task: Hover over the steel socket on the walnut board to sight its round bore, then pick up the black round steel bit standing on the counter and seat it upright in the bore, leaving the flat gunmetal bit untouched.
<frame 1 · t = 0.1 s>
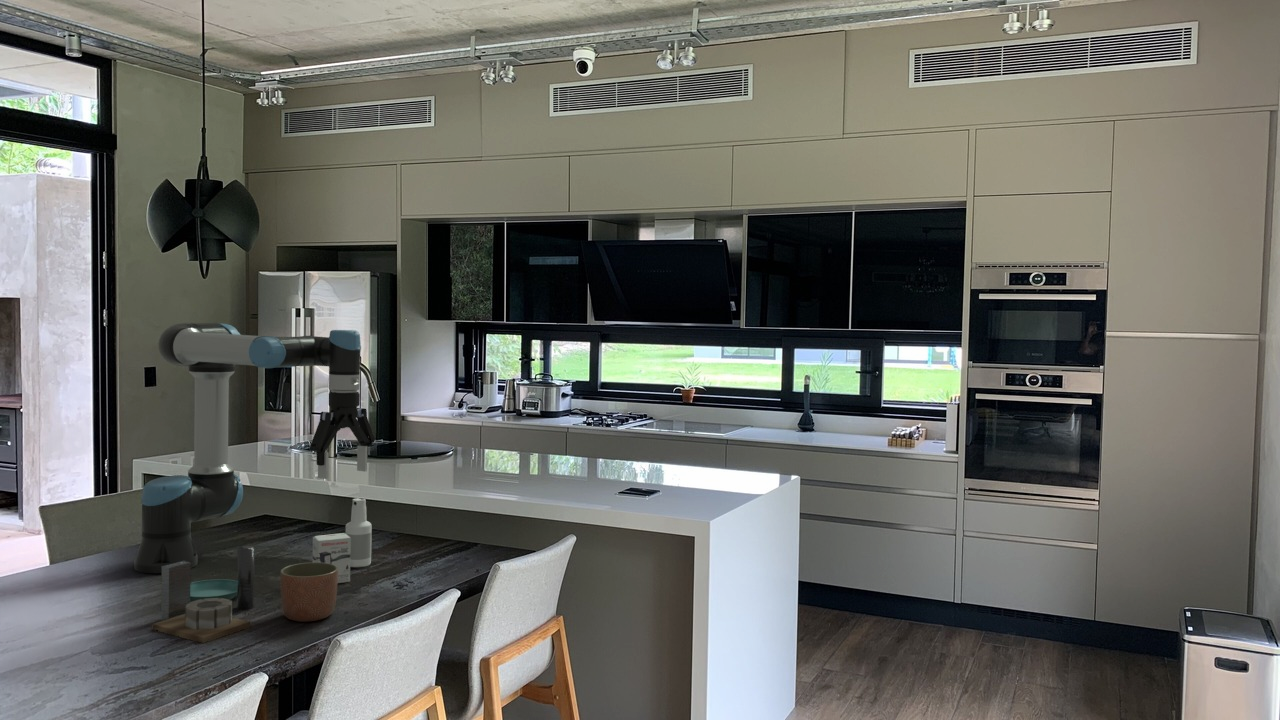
hand: (342, 474, 243), 28 cm above the table, fingers open, 13 cm apart
ink box: (331, 582, 246), on the table
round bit: (245, 607, 223), on the table
socket board: (201, 628, 208), on the table
spray bottle: (358, 565, 263), on the table
saucer: (210, 599, 230), on the table
flat bit: (175, 617, 215), on the table
planter: (308, 617, 218), on the table
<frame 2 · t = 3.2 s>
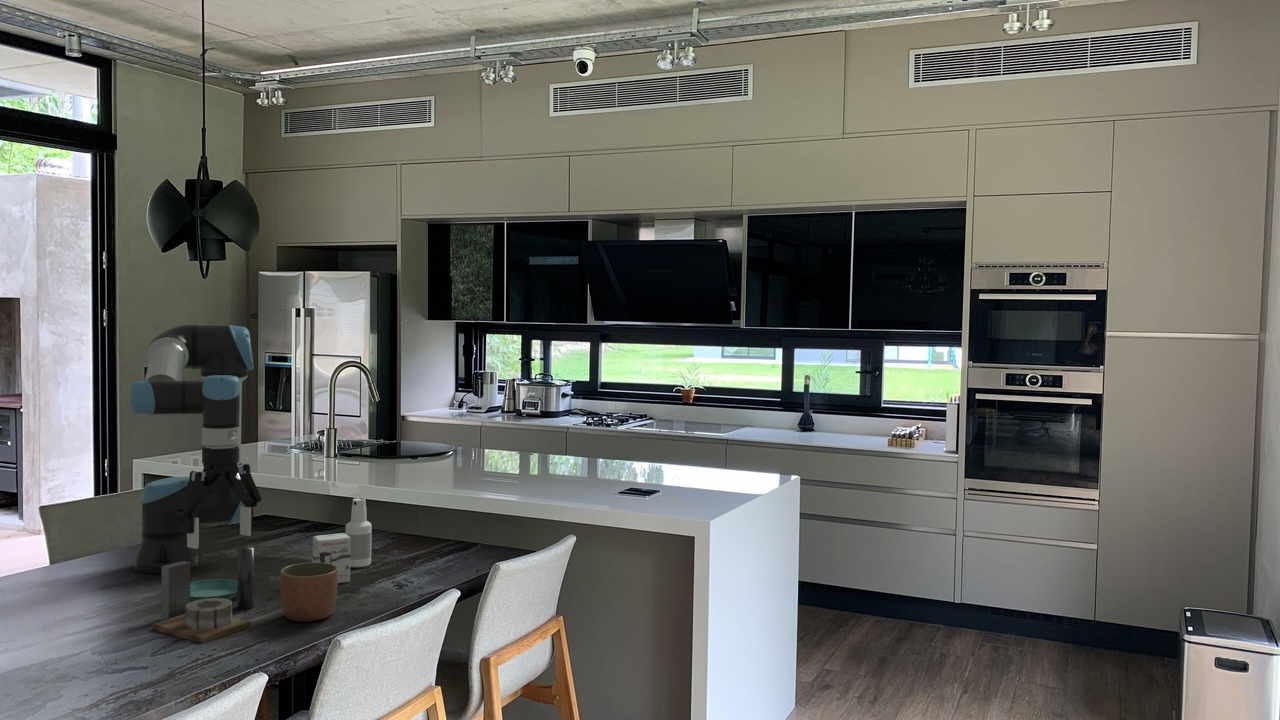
hand: (219, 541, 212), 18 cm above the table, fingers open, 13 cm apart
nothing on the table moved.
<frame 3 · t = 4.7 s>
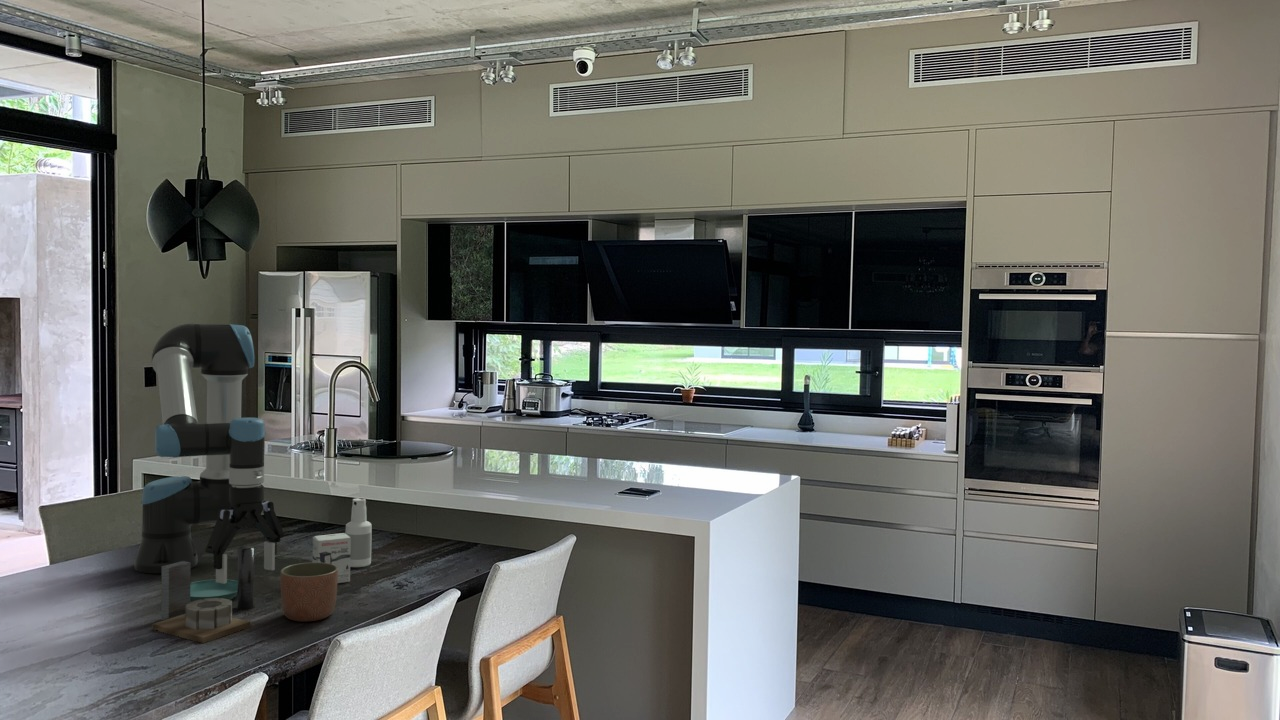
hand: (245, 575, 223), 7 cm above the table, fingers open, 13 cm apart
nothing on the table moved.
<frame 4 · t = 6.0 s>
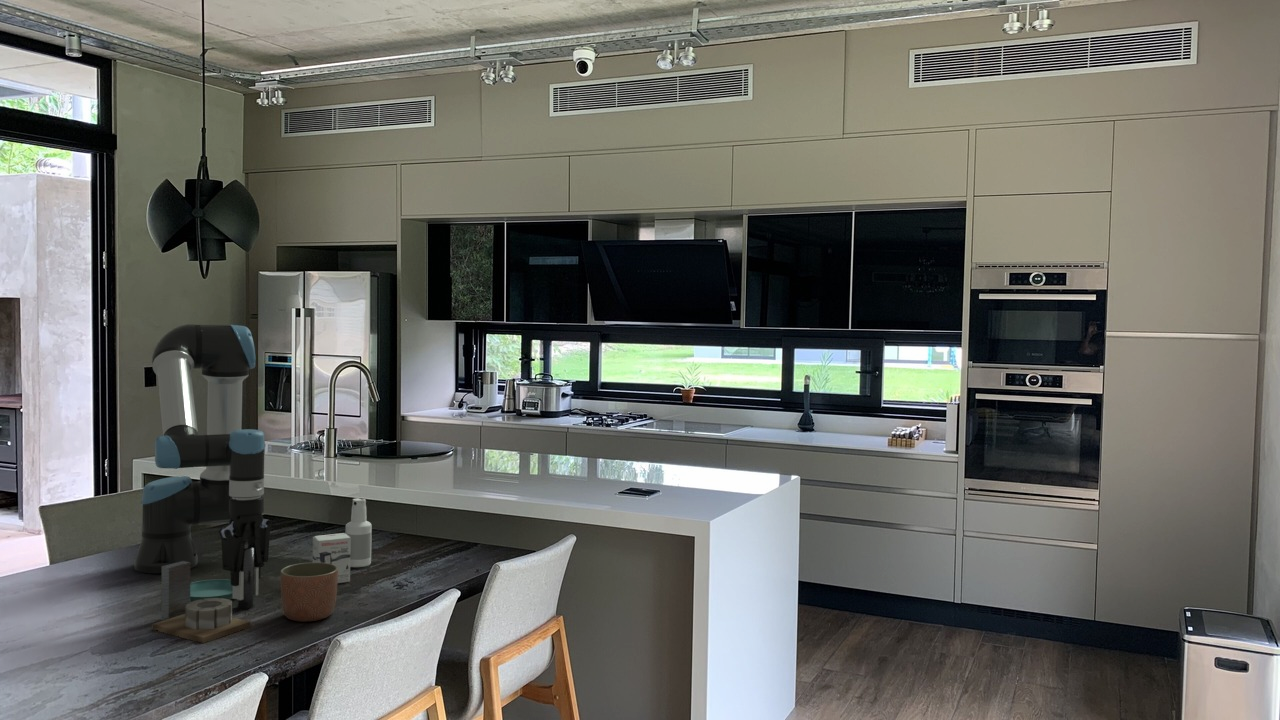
hand: (245, 596, 223), 3 cm above the table, fingers closed on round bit, 3 cm apart
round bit: (245, 607, 223), on the table, touching gripper
everything else where it was.
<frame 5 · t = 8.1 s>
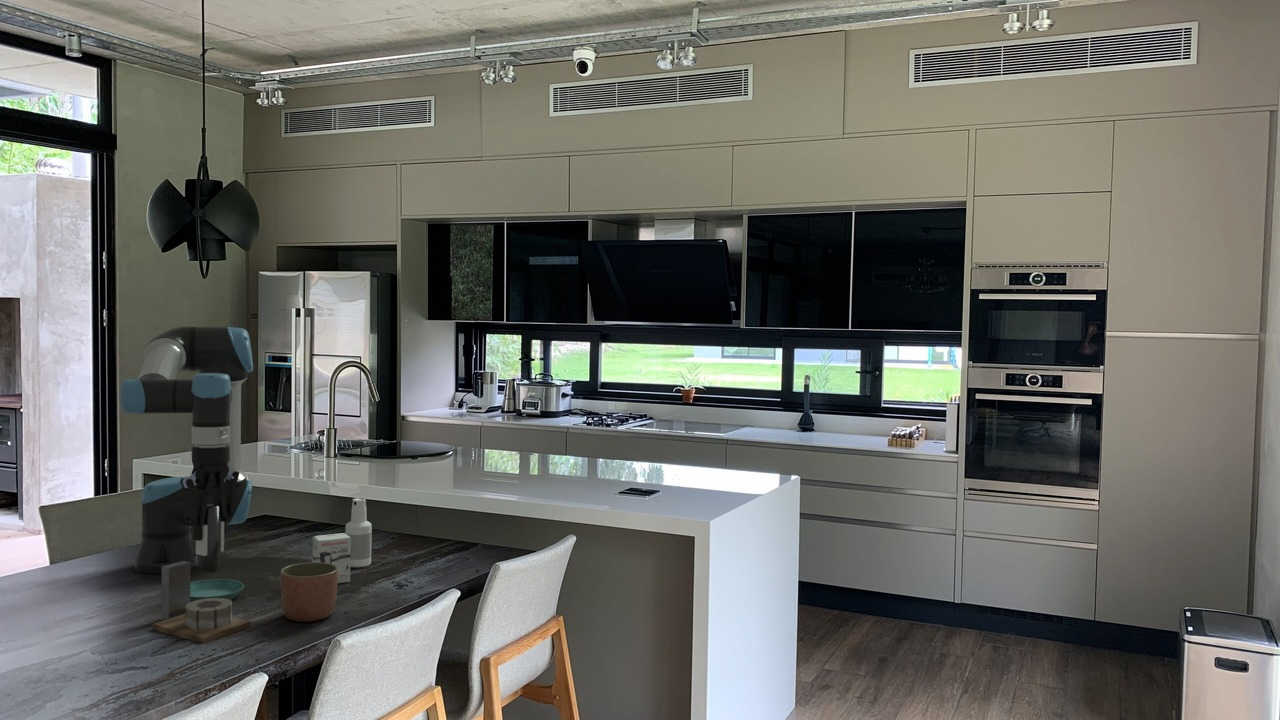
hand: (209, 552, 208), 17 cm above the table, fingers closed on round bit, 3 cm apart
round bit: (209, 569, 208), point 13 cm above the table, touching gripper
everything else where it was.
when the fingers open (6 cm above the table, at t = 10.6 s): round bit drops 1 cm, resting on socket board.
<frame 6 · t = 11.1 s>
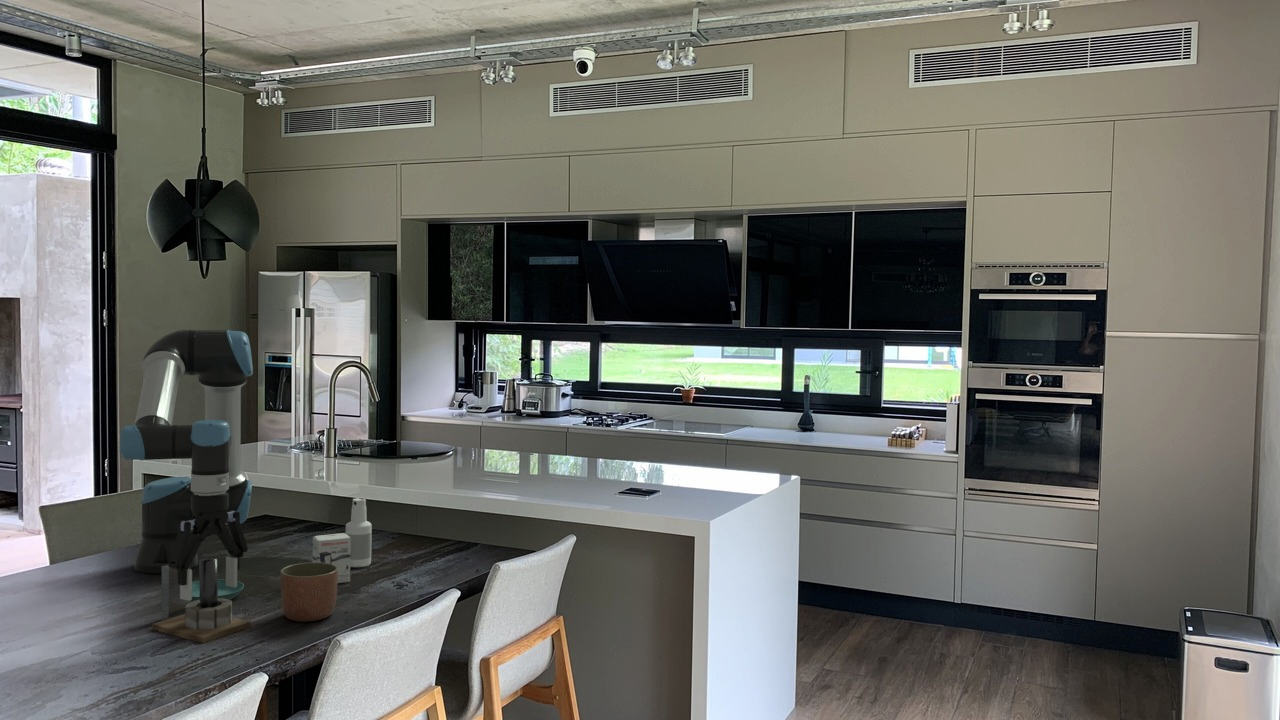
hand: (209, 592, 208), 8 cm above the table, fingers open, 11 cm apart
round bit: (208, 622, 209), point 1 cm above the table, touching socket board
everything else where it was.
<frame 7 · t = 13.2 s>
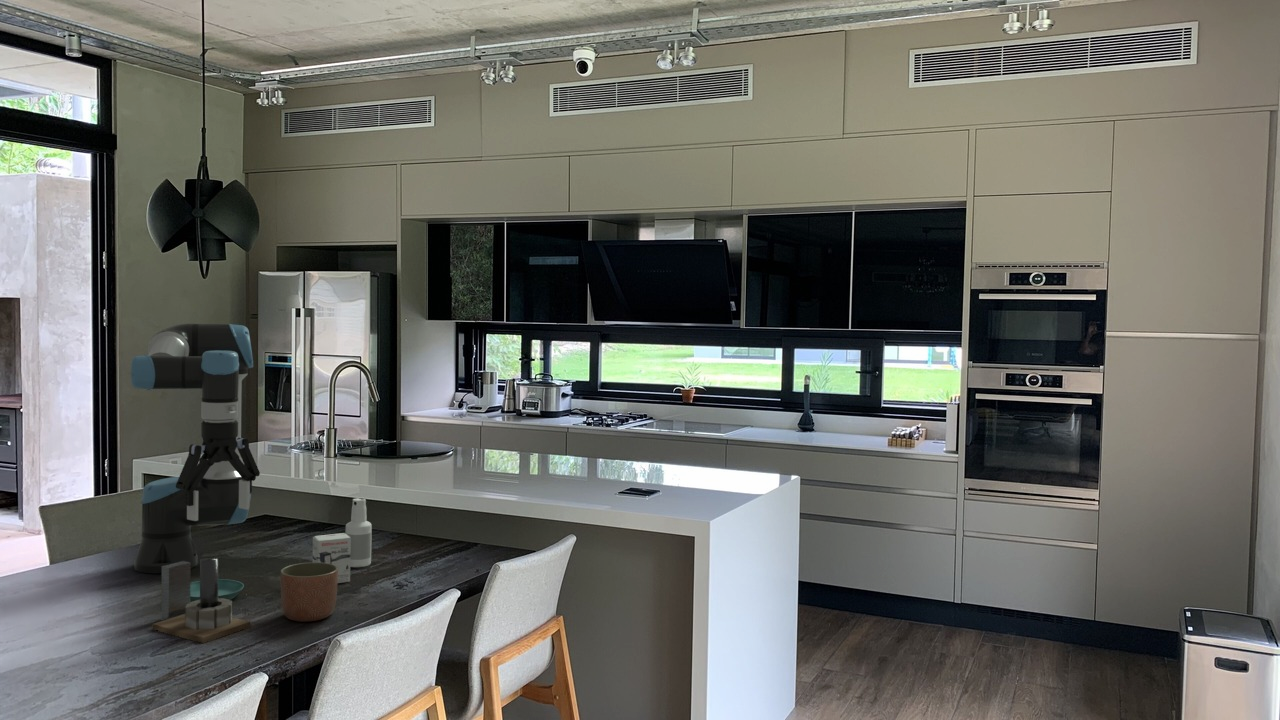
hand: (219, 514, 215), 23 cm above the table, fingers open, 13 cm apart
nothing on the table moved.
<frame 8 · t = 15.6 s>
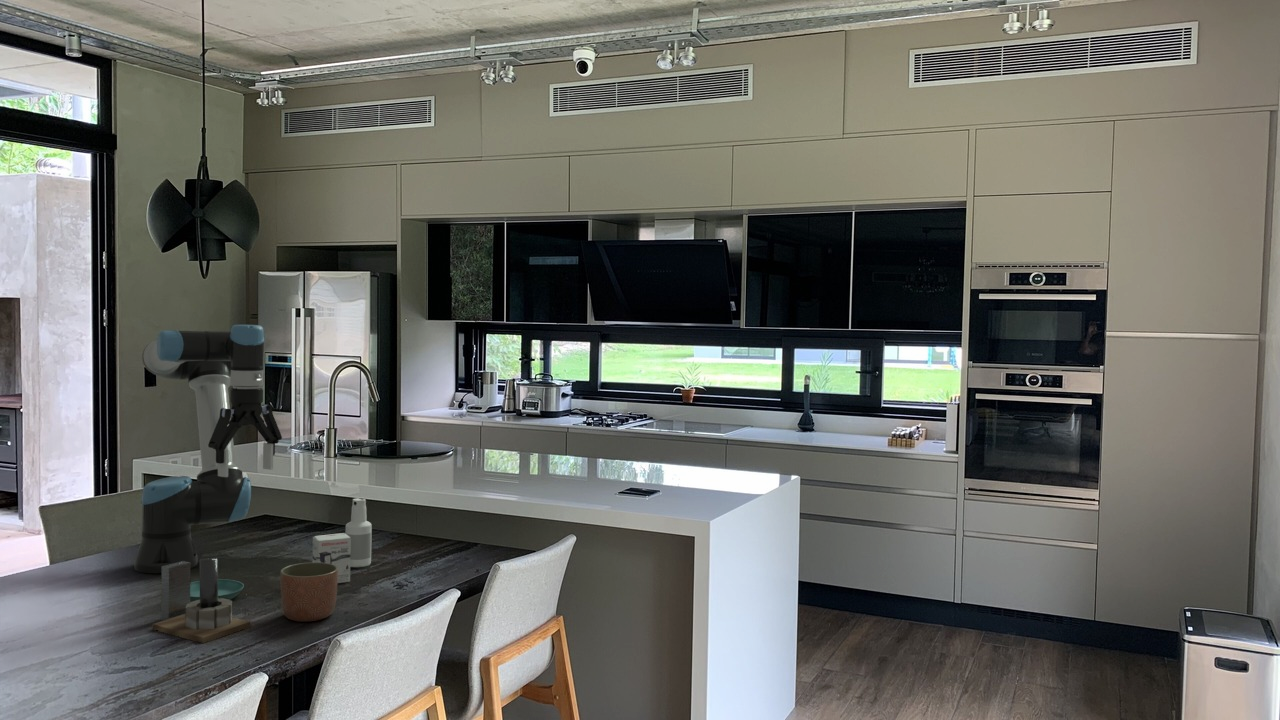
hand: (246, 472, 238), 29 cm above the table, fingers open, 13 cm apart
nothing on the table moved.
at the end: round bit 0.0 cm from the target spot on the socket board, point 1.2 cm above the socket board's base; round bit tilted 1°; the gripper is holding nothing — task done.
